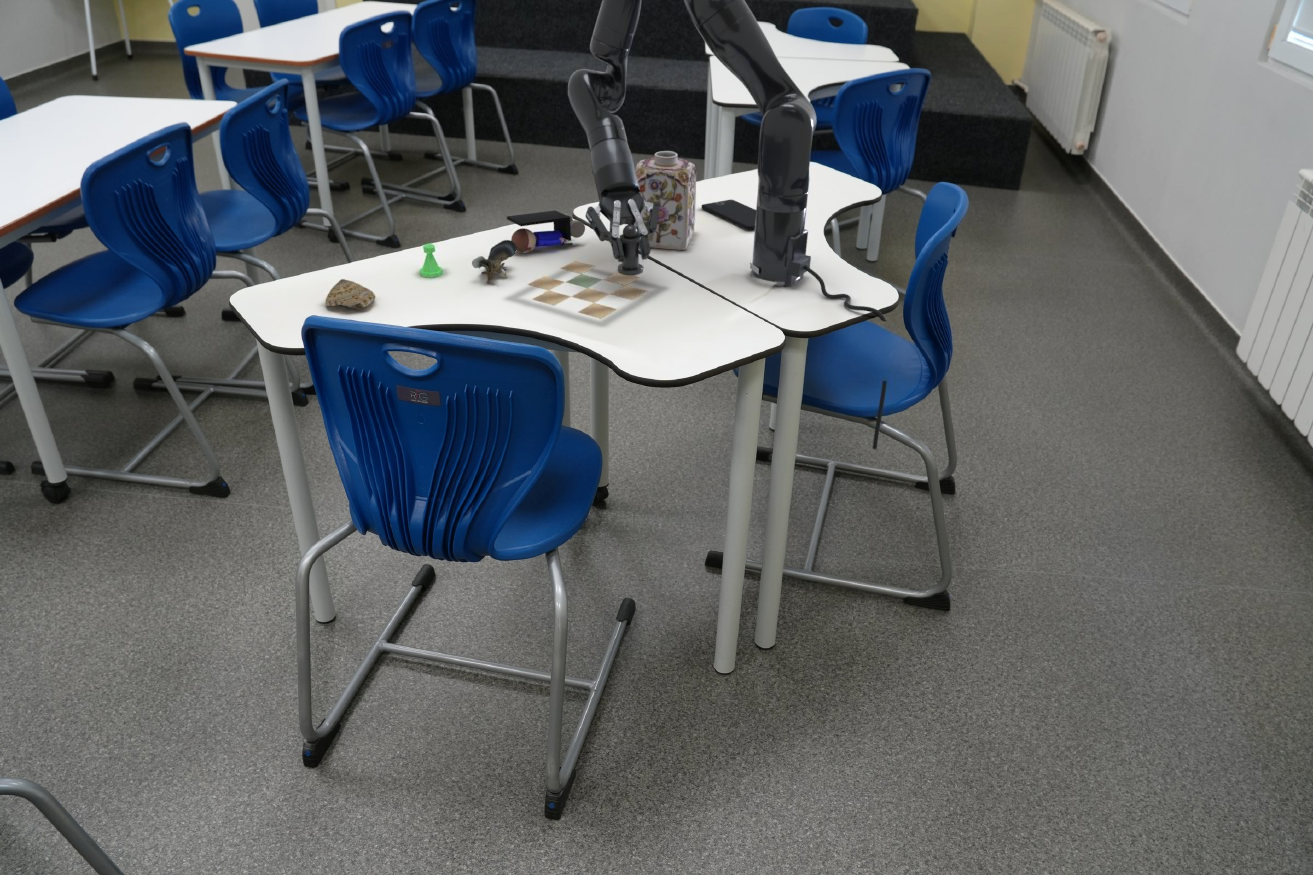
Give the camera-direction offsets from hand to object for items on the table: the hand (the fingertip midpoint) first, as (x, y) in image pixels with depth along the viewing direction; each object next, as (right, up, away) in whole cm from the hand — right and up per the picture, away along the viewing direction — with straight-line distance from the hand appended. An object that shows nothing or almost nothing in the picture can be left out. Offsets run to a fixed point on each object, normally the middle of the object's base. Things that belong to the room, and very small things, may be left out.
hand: (633, 258), depth 172 cm
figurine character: (-18, +7, +28) cm, 34 cm away
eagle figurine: (-26, -1, +14) cm, 30 cm away
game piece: (-39, 0, +14) cm, 41 cm away
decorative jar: (+5, +10, +33) cm, 35 cm away
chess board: (-9, -5, +7) cm, 12 cm away
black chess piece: (-1, -2, +3) cm, 4 cm away
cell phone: (+23, +18, +48) cm, 56 cm away
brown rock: (-50, -8, +1) cm, 50 cm away
